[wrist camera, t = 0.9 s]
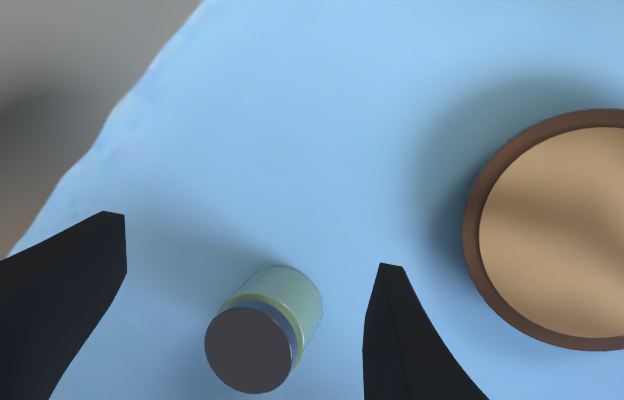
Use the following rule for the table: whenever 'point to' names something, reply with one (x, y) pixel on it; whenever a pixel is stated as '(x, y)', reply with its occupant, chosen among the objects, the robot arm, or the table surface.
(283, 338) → the jar
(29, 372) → the robot arm
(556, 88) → the table surface
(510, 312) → the stand
